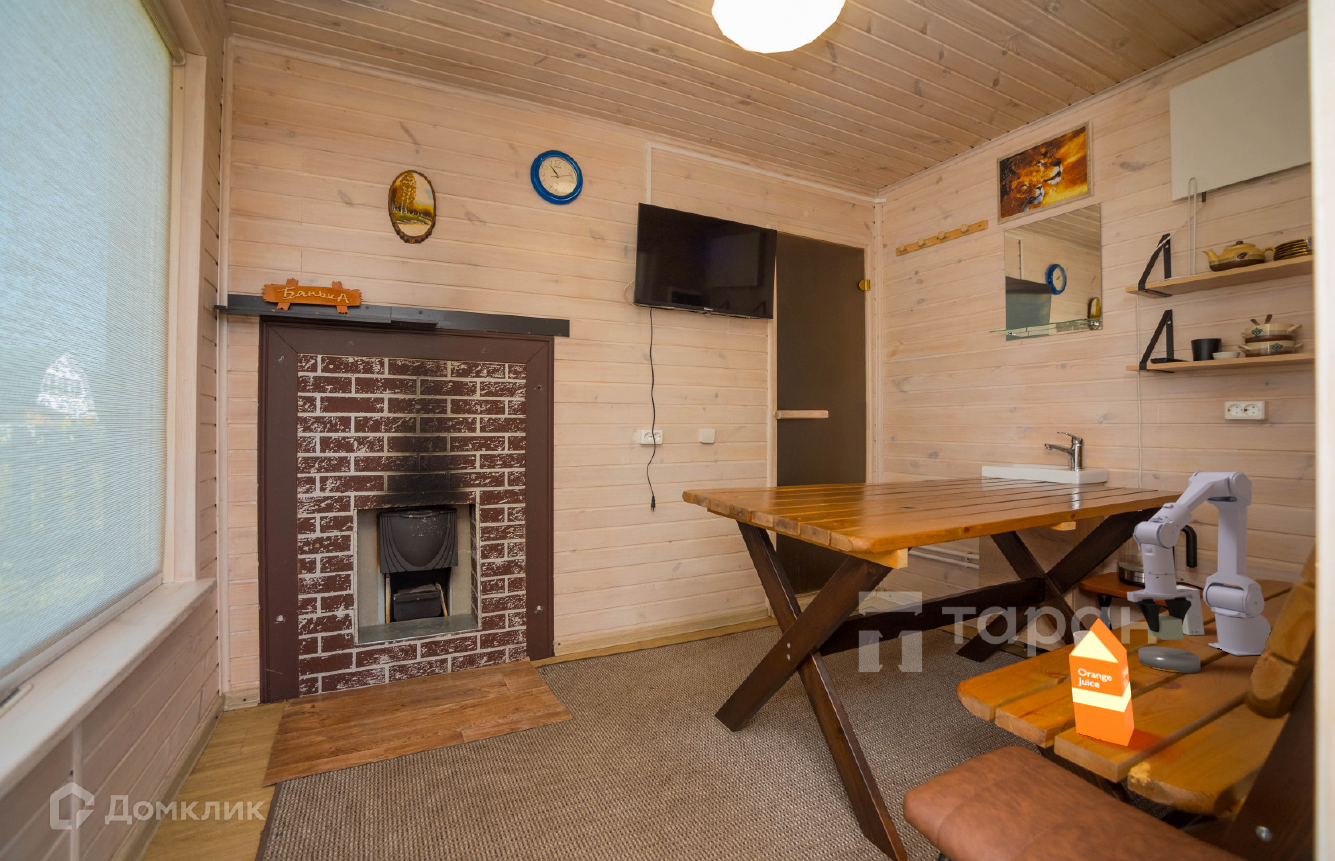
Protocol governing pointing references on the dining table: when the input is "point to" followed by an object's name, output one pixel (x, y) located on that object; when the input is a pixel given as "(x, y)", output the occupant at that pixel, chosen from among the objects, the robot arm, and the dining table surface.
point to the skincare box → (1193, 616)
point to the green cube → (1168, 628)
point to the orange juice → (1101, 687)
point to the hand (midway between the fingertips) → (1165, 630)
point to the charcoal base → (1170, 659)
